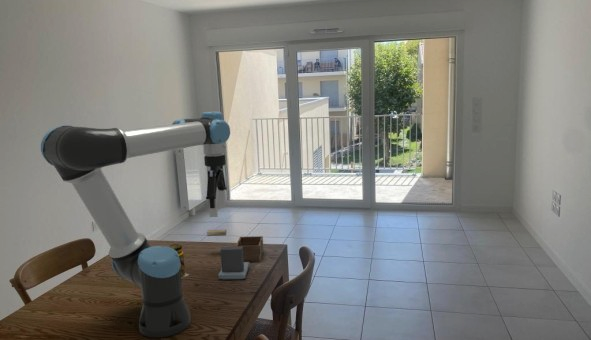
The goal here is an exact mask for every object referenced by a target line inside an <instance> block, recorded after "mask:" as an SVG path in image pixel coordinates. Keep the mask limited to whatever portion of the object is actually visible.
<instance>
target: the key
mask: <svg viewBox="0 0 591 340" xmlns="http://www.w3.org/2000/svg"><path fill="white" fill-rule="evenodd" d="M227 235H228V234H227V229H207V231H206V236H207V237H220V236H221V237H224V236H225V237H226V236H227Z"/></svg>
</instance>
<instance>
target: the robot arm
mask: <svg viewBox="0 0 591 340" xmlns="http://www.w3.org/2000/svg"><path fill="white" fill-rule="evenodd" d="M230 135H231V127H230V124H229V123H228V122H227V121H225V120H224V113H222V112H221V111H204V112H202V113H201V117H200V118H199V117H198V118H181V119H176V120H174V121H172V123H171V124H168V125H157V126H151V127H143V128H134V129H126V130H121V129H120V128H119V127H112V128H95V127H94V128H93V127H87V126H86V127H85V126H72V125H69V124H68V125H60V126H56V127H54V128H52V129H50V130H48V131H47V132H46V133H45V135H43V137H42V140H41V142H40V153H41V155H42V157H43V158H44V160H45V161H46V162H47V163H48V164H49V165H51V166H53V167H54V168H55V170H56V171H57V173H58V175H59V176H60V178H61V179H62V181H63V182H65V183H69V184H71V185H72V186H73V187H74V190H75V191H76V193H77V194H78V196H79V198H80V200H81V201H82V203H83V204H84V206H85V208H86V210H88V212H89V214H90V216H91V217H92V219H93V221H94V222H95V224H96V225H97V227H98V229H99V230H100V232H101V234H102V236H103V237H104V239H105V240H106V242H107V243H108V245H109V246H110V248H109V250H108V255H109V257H110V260H111V261H110V263H111V266H112V269H113V271H114V272H115V273H116V275H118V276H119V277H120V278H122V279H124V280H127V281H129V282H130V283H133V284H134V285H137V286H138V287H140V288H141V299H142V307H141V310H140V315H139V320H138V327H139V332H140V334H141V335H143V336H145V337H147V338H154V339H156V338H158V339H159V338H167V337H170V336H174V335H176V334H179V333H181V332H183V331H184V330H185V329H186V328H188V327H189V326H190V324H191V319H192V318H191V312H190V310H189V308H188V305H187V302H186V301H185V299H184V295H183V283H182V278H181V269H180V266H181V263H180V259H179V255H178V253H177V251H176V250H174V249H173V248H171V247H169V246H166V245H165V246H162V245H155V246H153V245H152V246H151V244H150V243H149V241H148V240H147V238H146V236H145V234H144V233H141V232H137V231H136V229H135V227H134V226H133V223H132V222H131V219H130V218H129V216H128V215H127V212H126V211H125V209H124V208H123V206H122V203H121V202H120V201H119V198H118V197H117V195H116V194H115V191H114V190H113V188H112V186H111V185H110V182H109V181H108V180H107V177H106V176H105V174H104V172H103V171H102V168H104V167H109V166H114V165H117V164H118V165H119V164H124V163H125V162H126V161H127V160H128V159H130V158H135V157H141V156H147V155H152V154H157V153H162V152H163V153H164V152H169V151H174V150H181V149H185V148H191V147H196V146H202V145H203V155H204V166H206V167H209V168H210V169H209V170H207V187H206V189H207V190H206V197H205V200H208V209H209V210H208V213H209V218H218V208H226V192H225V191H227V189H228V186H226V185H227V184H226V180H225V174H224V166H225V165H226V155H225V153H226V148H227V145H226V144H225V143H226V142H227V141H229V139H230V138H231V137H230Z"/></svg>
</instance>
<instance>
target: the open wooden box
mask: <svg viewBox="0 0 591 340" xmlns="http://www.w3.org/2000/svg"><path fill="white" fill-rule="evenodd" d="M234 247H243V258H244V262H249V263H261V262H262V259H263V255H264V252H263V251H264V237H263V236H262V235H261V236H259V235H257V236H239V238H238V240H237V242H236V244H235V246H234Z"/></svg>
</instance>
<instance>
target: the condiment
mask: <svg viewBox="0 0 591 340" xmlns="http://www.w3.org/2000/svg"><path fill="white" fill-rule="evenodd" d="M168 247H171V248H173V249H174V250H176V251H177V253H178V255H179V259H180V263H181V266H180V269H181V279H183V278H186V277H189V276H190V274H188V273H186V269H185V255H184V251H183V246H182V244H178V243H177V244H176V243H175V244H171V245H169V246H168Z"/></svg>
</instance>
